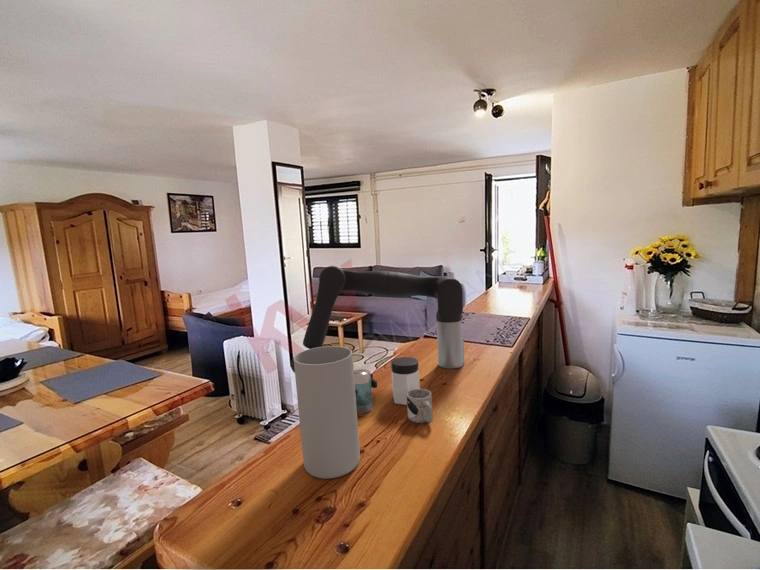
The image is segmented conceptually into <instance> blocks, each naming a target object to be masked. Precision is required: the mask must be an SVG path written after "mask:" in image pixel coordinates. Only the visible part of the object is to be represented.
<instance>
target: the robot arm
mask: <svg viewBox="0 0 760 570" xmlns="http://www.w3.org/2000/svg"><path fill="white" fill-rule="evenodd" d="M318 281H319V282H318V289H317V295H316V299H315V304H314V307H313V310H312V313H311V317H310V319H309V322H308V324H307V327H306V329H305V334H304V337H303V340H302V345H303V347H304V348H306V349H312V348H317V347H324V346H323V345H324V342H325V339H326V336H327V333H328V329H329V325H330V320H331V317H332V316H331V315H332V312H333V308H334V305H335V303H336V302H337V298H338V296H339V294H340V293H341V292H360V293H365V294H369V295H374V296H378V297H379V296H380V297H385V298H386V297H387V298H407V297H408V298H409V297H418V296H420V297H428V298H434V299H437V311H436V314H435V318H436V319H435V320H436V339H437V341H436V344H437V362H438V363H437V364H438V366H439V367H440V368H443V369H448V370H449V369H451V370H453V369H458V368H461V367H463V366H464V364H465V343H464V341H465V340H464V337H463V328H462V327H463V324H462V323H463V322H462V321H463V319H462V315H463V313H464V312H463V311H464V291H463V285H462V283H461V282H460V281H459V280H458V279H456V278H454V277H450V276H448V275H443V276H442V275H441V276H438V275H437V276H422V275H415V274H411V273H405V272H400V271H390V270H388V271H387V270H371V271H370V270H369V271H356V270H355V271H354V270H349V269H344V268H340V267H338V266H334V265H329V266H327V267H324V268H323V269H322V270H321V272H320V274H319V277H318ZM290 367H291V371H292V372H293V374H295V368H294V356H293V358H292V359H291V362H290ZM370 376H371V388H372V389H377V388H378V382H377V380H376V379H374V378H373V377H374V374H373V373H371V372H370Z"/></svg>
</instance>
